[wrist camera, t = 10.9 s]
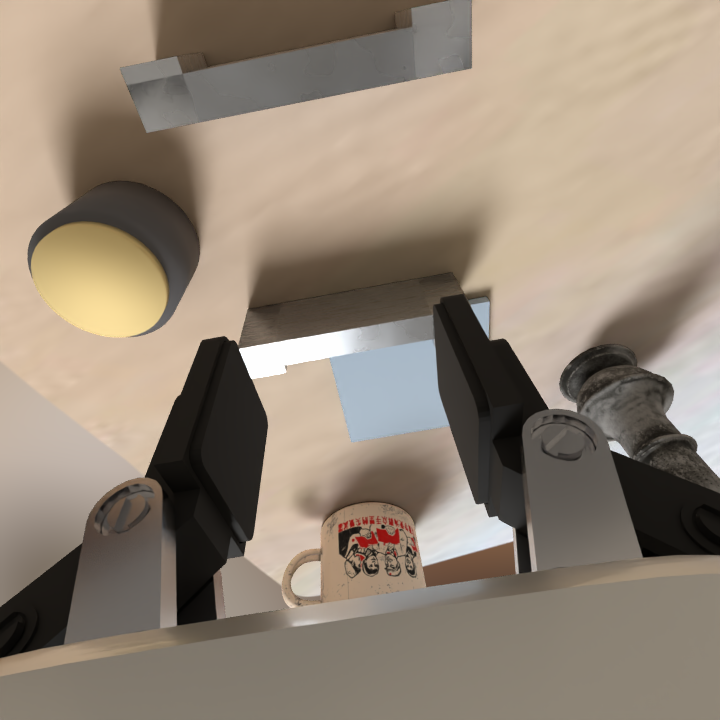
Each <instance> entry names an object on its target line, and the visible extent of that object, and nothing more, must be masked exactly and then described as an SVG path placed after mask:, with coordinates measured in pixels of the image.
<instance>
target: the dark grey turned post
mask: <svg viewBox="0 0 720 720" xmlns="http://www.w3.org/2000/svg"><path fill="white" fill-rule="evenodd" d="M559 385H560V391H561V392H562V394H563V396H564V397H565V398H567V399H568V400H569V401H572V402H575V403H577V413H579V414H582V415H584V416H586V417H588V418H589V419H591V420H593V421H594V422H595V423H596V424H597V425H598V426H599V427H600V428H601V429H602V430H603V432H604V434H605V436H606V438H607V441H617V442H618V443H620V444H621V446H622V447H623V449H624V450H625V451H626V453H627V454H628V455H629V457H630V458H632V459H634V460H637V461H639V462H642V463H644V464H647V465H650V466H652V467H655V468H657V469H660V470H662V471H665V472H667V473H670V474H672V475H675V476H678V477H680V478H683V479H685V480H688V481H690V482H693V483H695V484H698V485H701V486H703V487H706V488H708V489H711V490H713V491H716V492H718V493H720V478H719V477H718V476H717V475H716V474H715V473H714V472H713V471H712V470H711V468H710V467H709V466H708V465H707V464H706V463H705V462H704V461H703V460H702V458H701V457H700V456H699V455H698V454H697V453H696V451H697V443H696V441H695V440H694V439H693V438H692V437H691V436H688V435H685V434H681V433H680V432H679V431H678V430H677V429H676V427H675V426H674V425H673V424H672V423H671V422H670V421H669V420H668V419H667V417H666V415H665V413H666V412H667V411H668V410H669V408H670V406H671V404H672V401H673V396H674V390H673V387H672V384H671V383H670V382H669V381H668V380H667V379H666V378H665V377H662V376H660V375H657V374H653V373H652V372H649V371H647V370H644V369H641V368H639V367H637V359H636V357H635V354H634V353H633V352H632V351H631V350H630V349H629V348H627V347H624V346H622V345H615V344H608V345H601V346H598V347H595V348H592V349H589V350H588V351H586V352H584V353H582V354H580V355H579V356H578V357H576V358H575V359H574V360H572V361H571V362H570V364H569V365H568V366H567V367H566V368H565V370H564V372H563V373H562V375H561V378H560V383H559Z"/></svg>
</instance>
